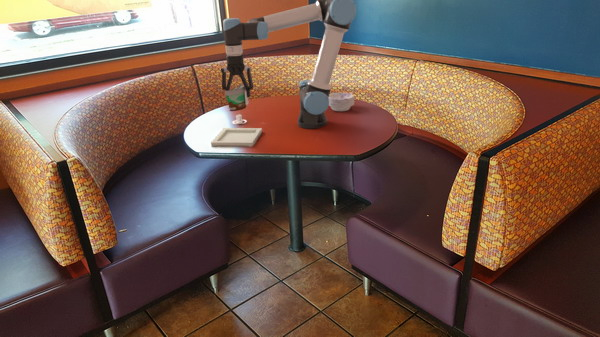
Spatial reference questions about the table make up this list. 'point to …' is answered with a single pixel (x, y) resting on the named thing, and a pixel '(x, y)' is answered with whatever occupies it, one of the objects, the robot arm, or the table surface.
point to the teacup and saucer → (239, 120)
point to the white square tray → (237, 137)
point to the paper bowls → (341, 101)
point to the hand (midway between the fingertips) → (239, 104)
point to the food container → (236, 98)
